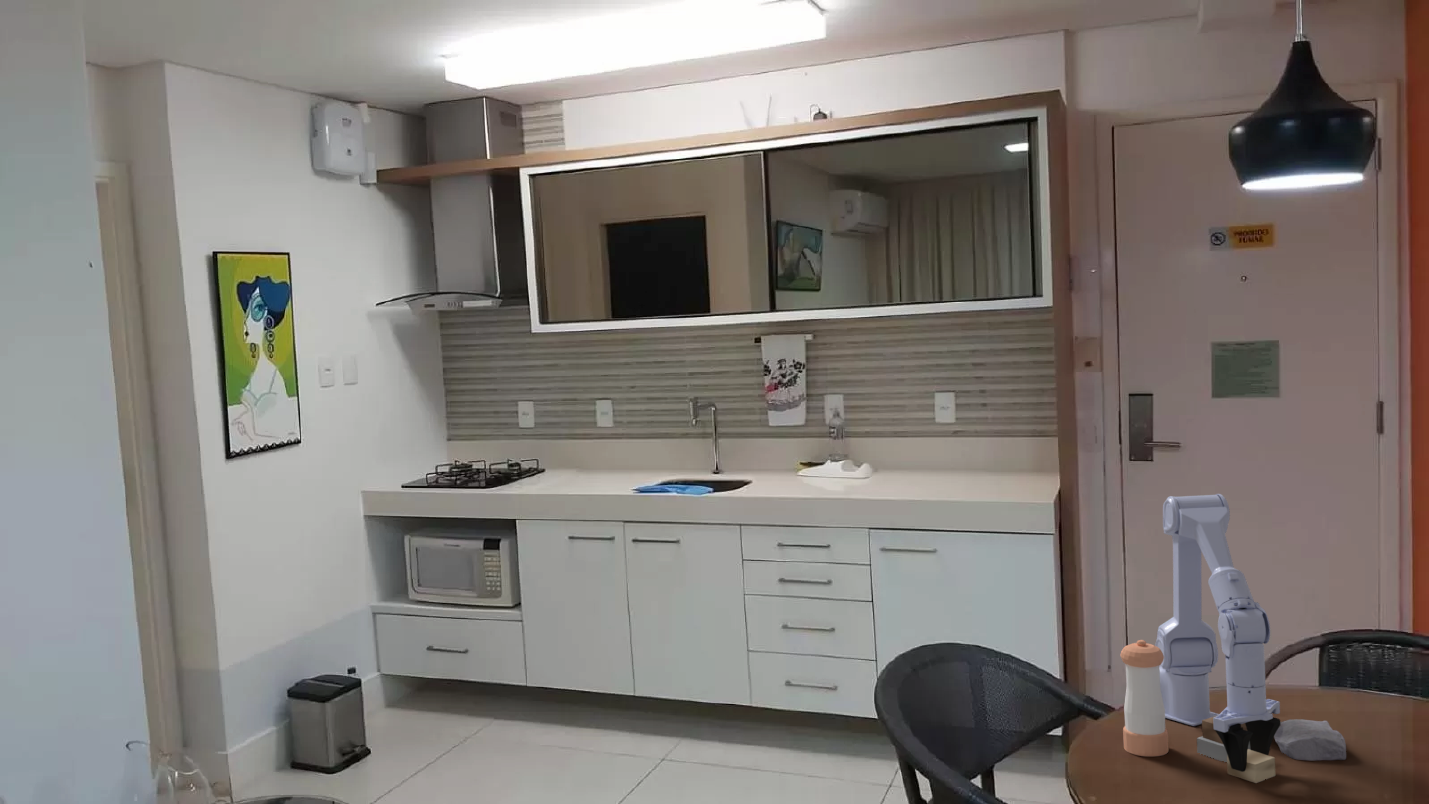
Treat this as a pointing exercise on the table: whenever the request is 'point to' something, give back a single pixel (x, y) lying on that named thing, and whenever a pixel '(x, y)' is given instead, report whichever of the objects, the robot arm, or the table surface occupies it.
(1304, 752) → the stone block
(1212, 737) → the walnut block
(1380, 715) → the table surface
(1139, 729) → the pepper shaker
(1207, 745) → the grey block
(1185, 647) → the robot arm
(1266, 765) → the oak block
